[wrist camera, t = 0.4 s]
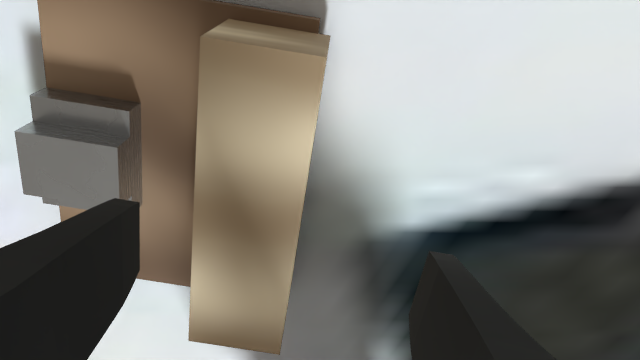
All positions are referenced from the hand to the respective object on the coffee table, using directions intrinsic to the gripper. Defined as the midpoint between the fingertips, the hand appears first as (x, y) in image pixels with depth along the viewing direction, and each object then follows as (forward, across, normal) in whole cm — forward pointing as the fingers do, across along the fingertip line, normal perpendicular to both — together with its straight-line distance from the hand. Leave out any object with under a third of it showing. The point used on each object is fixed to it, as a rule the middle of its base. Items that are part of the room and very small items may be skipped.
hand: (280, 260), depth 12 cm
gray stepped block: (+10, +9, +3) cm, 14 cm away
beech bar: (+10, +2, +2) cm, 10 cm away
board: (+10, +6, +3) cm, 12 cm away
